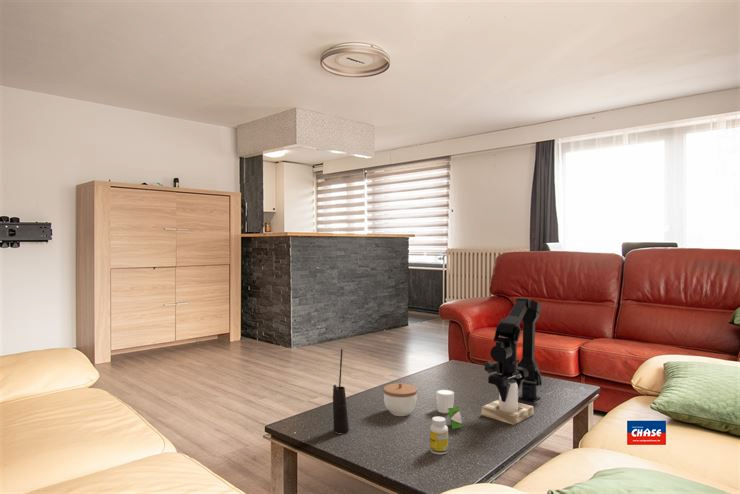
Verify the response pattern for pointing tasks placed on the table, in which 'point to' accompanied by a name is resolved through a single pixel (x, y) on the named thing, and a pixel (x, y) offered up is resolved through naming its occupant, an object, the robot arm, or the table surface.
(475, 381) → the table surface
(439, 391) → the white cup
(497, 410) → the frame
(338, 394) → the butter churn
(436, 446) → the supplement bottle
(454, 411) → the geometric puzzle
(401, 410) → the lidded bowl
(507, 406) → the can
